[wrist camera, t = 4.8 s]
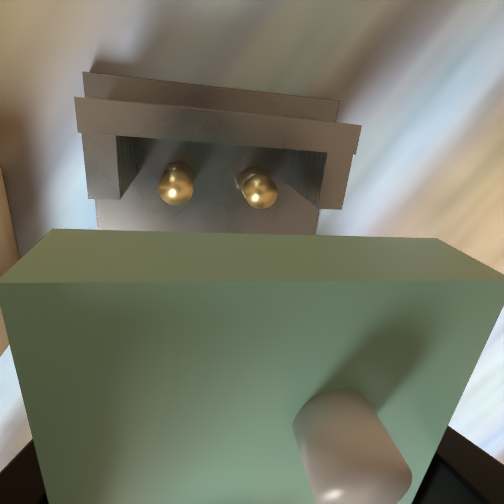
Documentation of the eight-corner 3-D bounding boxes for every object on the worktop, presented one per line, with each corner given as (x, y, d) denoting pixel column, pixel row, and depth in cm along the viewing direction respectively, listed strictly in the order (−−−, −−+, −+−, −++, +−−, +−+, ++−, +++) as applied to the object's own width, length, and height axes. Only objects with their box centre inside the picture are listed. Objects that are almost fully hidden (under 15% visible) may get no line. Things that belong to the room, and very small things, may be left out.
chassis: (291, 335, 22) (318, 396, 17) (112, 341, 19) (89, 414, 15) (332, 100, 16) (388, 100, 12) (88, 73, 14) (39, 59, 9)
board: (335, 538, 9) (383, 677, 7) (106, 576, 8) (75, 761, 6) (436, 238, 6) (601, 327, 3) (52, 228, 4) (-85, 354, 2)
